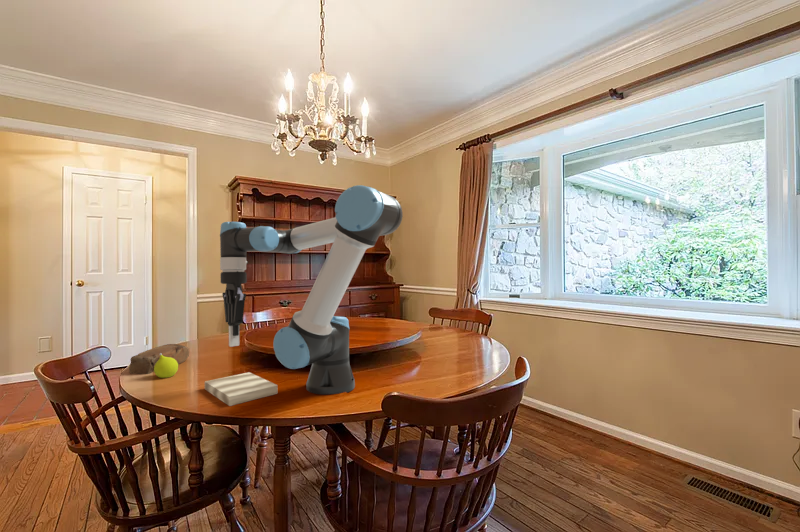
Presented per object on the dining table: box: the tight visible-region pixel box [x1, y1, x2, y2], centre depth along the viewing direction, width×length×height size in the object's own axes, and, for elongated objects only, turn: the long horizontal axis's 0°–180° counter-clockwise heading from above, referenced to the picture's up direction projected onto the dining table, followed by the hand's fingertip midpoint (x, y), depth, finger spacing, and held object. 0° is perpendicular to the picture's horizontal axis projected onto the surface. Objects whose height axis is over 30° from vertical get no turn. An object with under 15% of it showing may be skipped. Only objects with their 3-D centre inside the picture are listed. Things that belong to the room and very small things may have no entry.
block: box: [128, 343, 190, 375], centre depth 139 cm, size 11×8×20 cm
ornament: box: [153, 350, 179, 379], centre depth 127 cm, size 7×7×10 cm
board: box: [204, 371, 279, 407], centre depth 112 cm, size 20×14×2 cm
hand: (234, 345), depth 116 cm, fingers closed
